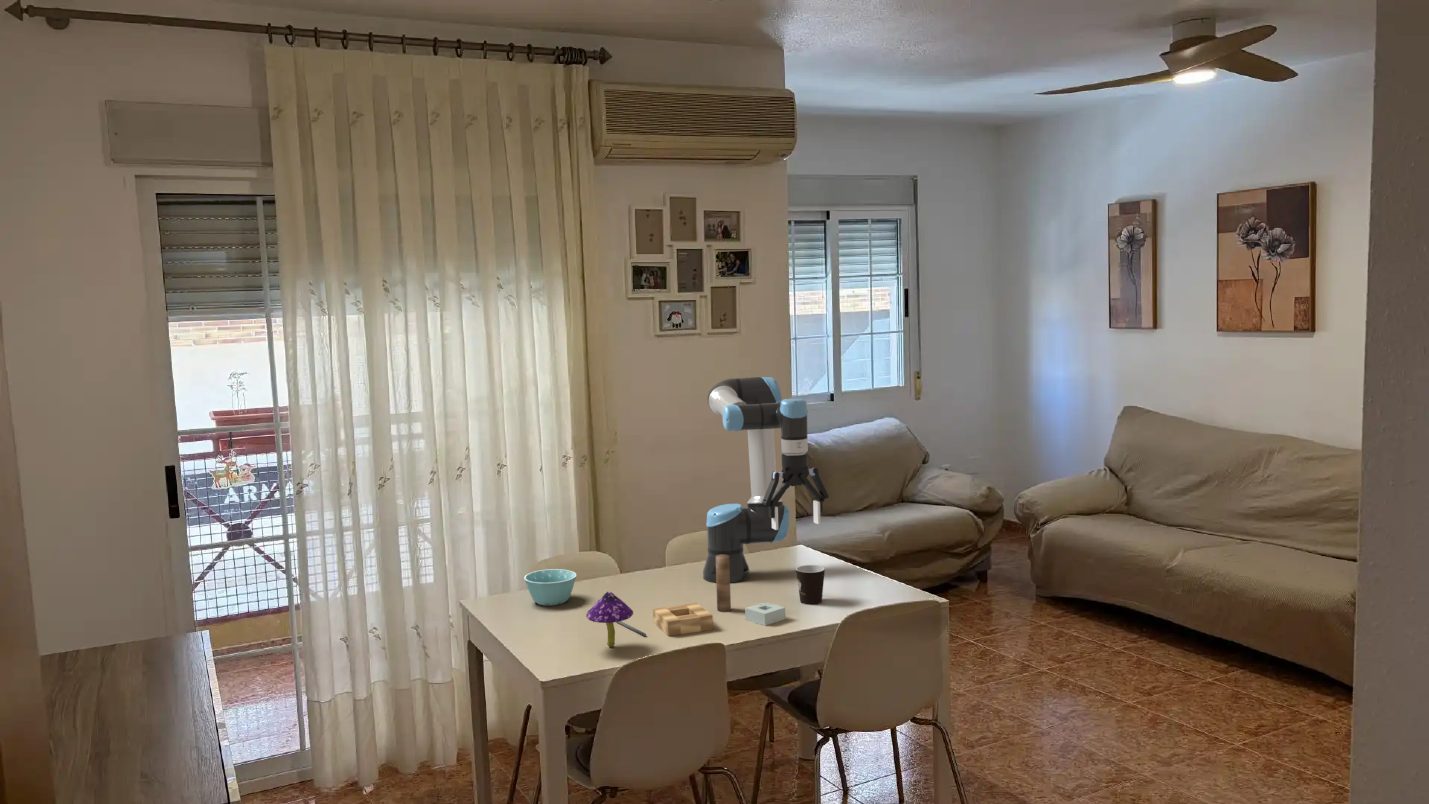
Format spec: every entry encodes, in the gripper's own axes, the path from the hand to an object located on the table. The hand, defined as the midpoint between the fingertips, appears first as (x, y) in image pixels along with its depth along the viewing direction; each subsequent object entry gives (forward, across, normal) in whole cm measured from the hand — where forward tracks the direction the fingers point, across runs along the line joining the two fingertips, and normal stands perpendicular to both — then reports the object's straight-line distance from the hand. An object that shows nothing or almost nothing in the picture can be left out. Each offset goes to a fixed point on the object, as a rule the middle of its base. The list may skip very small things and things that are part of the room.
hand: (796, 526), depth 307 cm
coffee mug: (+25, +8, +7) cm, 27 cm away
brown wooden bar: (+25, -18, +11) cm, 33 cm away
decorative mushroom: (+25, -58, -4) cm, 63 cm away
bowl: (+26, -61, +45) cm, 80 cm away
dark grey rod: (+25, -49, +7) cm, 55 cm away
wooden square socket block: (+25, -35, +3) cm, 43 cm away
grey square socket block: (+25, -12, -3) cm, 28 cm away
